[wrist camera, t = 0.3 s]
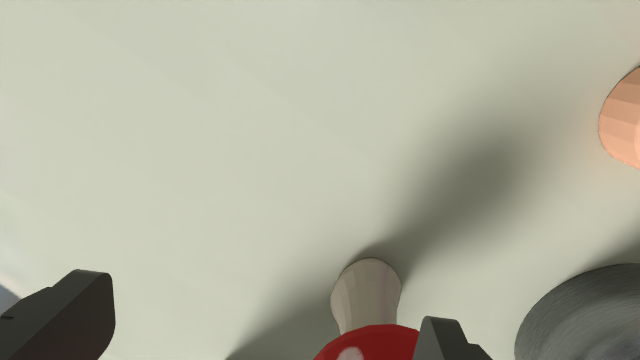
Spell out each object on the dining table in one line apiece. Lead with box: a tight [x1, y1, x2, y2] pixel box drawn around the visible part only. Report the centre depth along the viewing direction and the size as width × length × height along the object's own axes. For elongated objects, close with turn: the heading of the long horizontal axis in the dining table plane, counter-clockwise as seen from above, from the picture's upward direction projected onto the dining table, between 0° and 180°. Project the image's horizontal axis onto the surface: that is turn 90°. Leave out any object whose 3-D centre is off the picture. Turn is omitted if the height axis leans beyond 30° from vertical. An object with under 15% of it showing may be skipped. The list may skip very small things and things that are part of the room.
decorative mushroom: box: [313, 258, 419, 360], centre depth 24 cm, size 10×9×15 cm
